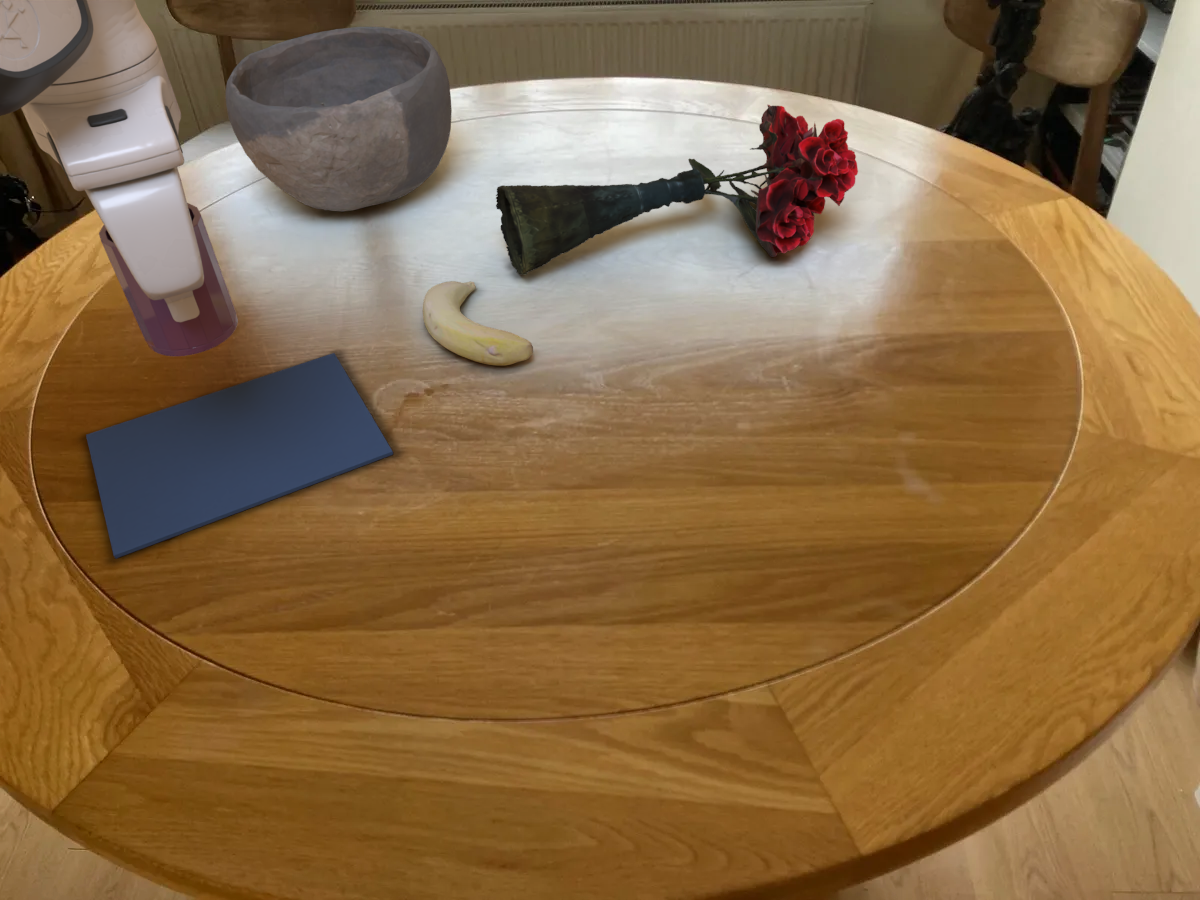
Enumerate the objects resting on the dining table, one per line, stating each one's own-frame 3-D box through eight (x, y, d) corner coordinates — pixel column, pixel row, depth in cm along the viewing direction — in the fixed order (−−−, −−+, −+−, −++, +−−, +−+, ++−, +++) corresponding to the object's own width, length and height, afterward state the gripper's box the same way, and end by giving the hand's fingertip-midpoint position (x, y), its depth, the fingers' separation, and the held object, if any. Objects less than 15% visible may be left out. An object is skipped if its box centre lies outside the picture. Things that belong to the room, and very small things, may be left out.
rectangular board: (115, 559, 72) (113, 555, 71) (87, 438, 82) (85, 434, 82) (393, 454, 79) (392, 451, 79) (335, 356, 90) (334, 352, 89)
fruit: (464, 390, 85) (459, 360, 83) (406, 308, 95) (400, 279, 93) (537, 365, 87) (534, 335, 85) (473, 287, 97) (469, 259, 95)
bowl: (289, 264, 102) (249, 128, 92) (235, 176, 118) (195, 52, 108) (498, 202, 111) (481, 71, 100) (420, 128, 127) (400, 8, 116)
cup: (155, 367, 69) (106, 258, 63) (139, 322, 74) (93, 216, 68) (247, 338, 72) (209, 230, 66) (227, 296, 76) (189, 191, 70)
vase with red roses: (528, 336, 104) (819, 254, 110) (552, 313, 86) (899, 215, 92) (486, 195, 103) (782, 120, 109) (500, 141, 85) (854, 55, 91)
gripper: (33, 64, 67) (110, 240, 76) (66, 177, 53) (155, 375, 63) (127, 44, 69) (191, 218, 78) (182, 149, 55) (251, 344, 65)
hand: (175, 289), depth 70 cm, fingers closed on cup, 7 cm apart
